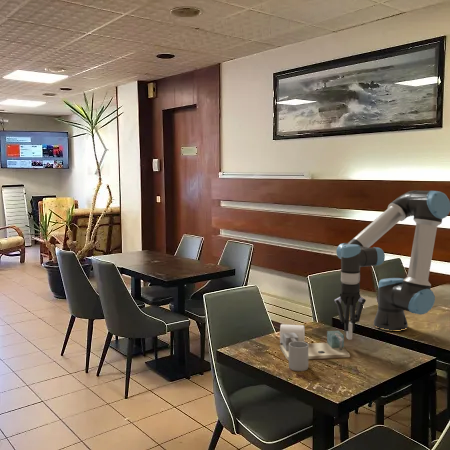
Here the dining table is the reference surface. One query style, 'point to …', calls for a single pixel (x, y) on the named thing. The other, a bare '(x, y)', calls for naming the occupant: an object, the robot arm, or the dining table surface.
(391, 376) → the dining table surface
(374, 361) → the dining table surface
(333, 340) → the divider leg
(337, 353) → the board
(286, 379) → the dining table surface
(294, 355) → the cup
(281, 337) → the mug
